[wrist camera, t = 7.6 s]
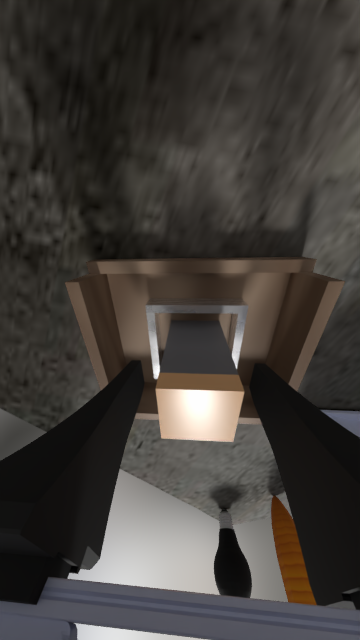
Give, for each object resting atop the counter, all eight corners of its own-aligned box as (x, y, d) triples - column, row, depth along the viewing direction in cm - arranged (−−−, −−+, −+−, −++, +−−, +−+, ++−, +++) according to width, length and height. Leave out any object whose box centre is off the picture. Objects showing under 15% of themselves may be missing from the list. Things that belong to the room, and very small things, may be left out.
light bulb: (205, 511, 34) (211, 608, 25) (215, 501, 32) (225, 605, 23) (232, 516, 35) (246, 613, 26) (243, 506, 32) (264, 610, 23)
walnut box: (302, 256, 12) (352, 265, 8) (263, 386, 17) (282, 425, 14) (97, 259, 12) (60, 267, 9) (125, 382, 18) (110, 417, 15)
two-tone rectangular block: (219, 320, 13) (244, 391, 7) (215, 358, 15) (232, 441, 9) (171, 320, 14) (155, 388, 7) (172, 357, 15) (161, 438, 9)
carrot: (288, 488, 28) (382, 726, 14) (289, 500, 30) (372, 718, 16) (258, 490, 28) (318, 714, 15) (261, 502, 30) (317, 708, 17)
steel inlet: (242, 298, 13) (248, 305, 11) (230, 369, 16) (234, 381, 14) (149, 298, 13) (145, 305, 12) (157, 367, 16) (154, 379, 15)
